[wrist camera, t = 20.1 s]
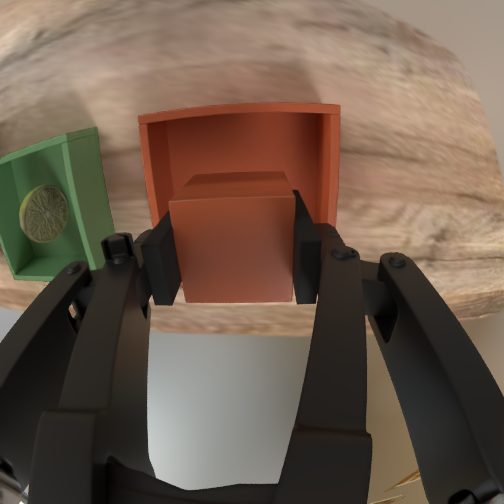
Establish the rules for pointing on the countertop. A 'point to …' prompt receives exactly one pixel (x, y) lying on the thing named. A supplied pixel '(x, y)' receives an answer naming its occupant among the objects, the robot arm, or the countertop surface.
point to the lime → (44, 213)
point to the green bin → (78, 199)
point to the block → (235, 237)
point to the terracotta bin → (244, 149)
